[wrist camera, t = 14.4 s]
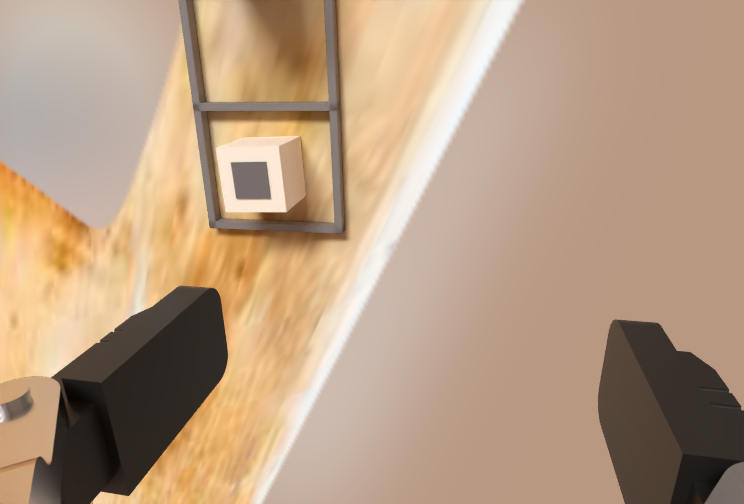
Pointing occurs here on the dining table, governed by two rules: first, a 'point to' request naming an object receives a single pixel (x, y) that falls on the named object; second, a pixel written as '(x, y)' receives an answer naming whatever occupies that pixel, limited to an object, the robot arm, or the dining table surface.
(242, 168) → the white and grey cube
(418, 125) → the dining table surface
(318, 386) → the dining table surface
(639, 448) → the robot arm
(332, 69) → the frame
